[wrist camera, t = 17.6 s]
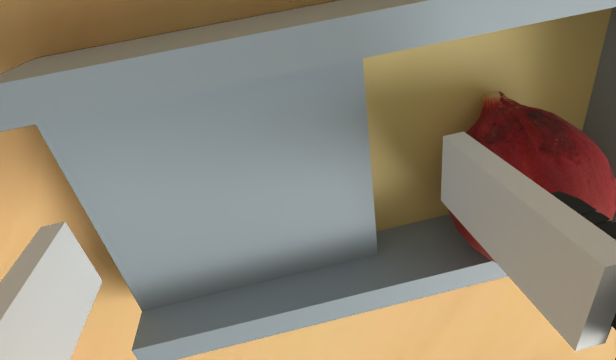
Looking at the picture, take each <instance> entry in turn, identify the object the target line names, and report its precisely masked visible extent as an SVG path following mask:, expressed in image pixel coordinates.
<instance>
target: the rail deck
mask: <svg viewBox="0 0 616 360" xmlns="http://www.w3.org/2000/svg"><path fill="white" fill-rule="evenodd" d="M608 8H612V11H611V15H610V19H609V23H608V27H607V32H606V36H605V40H604V44H603V48H602V52H601V56H600V60H599V64H598V68H597V72H596V77H595V81H594V85H593V89H592V93H591V97H590V101H589V105H588V109H587V113H586V117H585V122H584V126H583V130H582V132H584V133H585V134H586V135H587V136H588V137H589V138H590V139H591V140H593V141H594V142H595V143H596V144H597V146H598V147H599V148H600V150H601V151H602V152H603V154H604V155H605V156H606V157H607V159H608V162H609V164H610V167H611V169H612V172H613V174H614V177H615V179H616V0H338V1H333V2H328V3H322V4H317V5H312V6H307V7H301V8H296V9H291V10H286V11H280V12H275V13H270V14H265V15H259V16H254V17H249V18H244V19H238V20H233V21H228V22H223V23H218V24H212V25H207V26H202V27H197V28H191V29H186V30H181V31H176V32H170V33H165V34H160V35H155V36H149V37H144V38H139V39H134V40H128V41H123V42H118V43H113V44H107V45H102V46H97V47H92V48H86V49H81V50H76V51H71V52H66V53H60V54H55V55H50V56H45V57H39V58H35V59H33V60H31V61H28V62H26V63H24V64H22V65H20V66H17V67H15V68H13V69H11V70H8V71H6V72H4V73H2V74H0V132H2V131H7V130H12V129H16V128H21V127H26V126H31V125H36V126H37V128H38V130H39V132H40V133H41V135H42V137H43V139H44V140H45V142H46V144H47V146H48V147H49V149H50V151H51V153H52V154H53V156H54V158H55V160H56V161H57V163H58V165H59V166H60V168H61V170H62V172H63V173H64V175H65V177H66V179H67V180H68V182H69V184H70V186H71V187H72V189H73V191H74V193H75V194H76V196H77V198H78V200H79V201H80V203H81V205H82V207H83V208H84V210H85V212H86V214H87V215H88V217H89V219H90V221H91V222H92V224H93V226H94V228H95V229H96V231H97V233H98V235H99V236H100V238H101V240H102V242H103V243H104V245H105V247H106V249H107V250H108V252H109V254H110V256H111V257H112V259H113V261H114V263H115V264H116V266H117V268H118V270H119V271H120V273H121V275H122V277H123V278H124V280H125V282H126V284H127V285H128V287H129V289H130V291H131V292H132V294H133V296H134V298H135V299H136V301H137V303H138V305H139V306H140V308H141V310H142V314H141V318H140V322H139V325H138V329H137V333H136V336H135V340H134V344H133V348H132V352H133V353H134V355H135V356H136V358H137V359H138V360H177V359H181V358H185V357H189V356H193V355H197V354H201V353H205V352H209V351H213V350H217V349H220V348H224V347H228V346H232V345H236V344H240V343H244V342H248V341H252V340H256V339H260V338H264V337H268V336H272V335H276V334H280V333H284V332H288V331H292V330H296V329H300V328H304V327H308V326H312V325H316V324H320V323H324V322H328V321H332V320H336V319H340V318H344V317H348V316H352V315H356V314H360V313H364V312H368V311H372V310H376V309H380V308H384V307H388V306H392V305H396V304H400V303H404V302H408V301H411V300H415V299H419V298H423V297H427V296H431V295H435V294H439V293H443V292H447V291H451V290H455V289H459V288H463V287H467V286H471V285H475V284H479V283H483V282H487V281H491V280H495V279H499V278H503V277H507V276H508V275H507V274H506V273H505V272H504V271H503V270H502V268H501V267H500V266H499V265H498V264H497V263H495V262H494V261H492V260H490V259H489V258H487V257H486V256H484V255H483V254H481V253H480V252H478V251H477V250H475V249H474V248H473V247H472V246H471V245H470V244H469V243H468V242H467V241H466V239H465V238H464V237H463V236H462V235H461V234H460V233H459V232H458V230H457V228H456V226H455V224H454V222H453V220H452V217H451V215H450V214H448V215H444V216H440V217H436V218H432V219H427V220H423V221H419V222H415V223H410V224H406V225H402V226H398V227H393V228H389V229H385V230H381V231H377V232H376V224H375V211H374V198H373V185H372V172H371V159H370V146H369V133H368V121H367V108H366V95H365V82H364V69H363V58H367V57H372V56H376V55H381V54H386V53H391V52H396V51H401V50H406V49H411V48H416V47H421V46H426V45H431V44H436V43H441V42H446V41H450V40H455V39H460V38H465V37H470V36H475V35H480V34H485V33H490V32H495V31H500V30H505V29H510V28H515V27H520V26H524V25H529V24H534V23H539V22H544V21H549V20H554V19H559V18H564V17H569V16H574V15H579V14H584V13H589V12H593V11H598V10H603V9H608ZM612 222H616V211H615V213H614V216H613V219H612Z"/></svg>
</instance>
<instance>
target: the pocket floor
mask: <svg viewBox="0 0 616 360" xmlns="http://www.w3.org/2000/svg"><path fill="white" fill-rule="evenodd" d="M611 11H612V8H608V9H603V10H598V11H593V12H589V13H584V14H579V15H574V16H569V17H564V18H559V19H554V20H549V21H544V22H539V23H534V24H529V25H524V26H520V27H515V28H510V29H505V30H500V31H495V32H490V33H485V34H480V35H475V36H470V37H465V38H460V39H455V40H450V41H446V42H441V43H436V44H431V45H426V46H421V47H416V48H411V49H406V50H401V51H396V52H391V53H386V54H381V55H376V56H372V57H367V58H363V69H364V82H365V95H366V108H367V121H368V133H369V146H370V159H371V172H372V185H373V198H374V211H375V224H376V232H377V231H381V230H385V229H389V228H393V227H398V226H402V225H406V224H410V223H415V222H419V221H423V220H427V219H432V218H436V217H440V216H444V215H448V214H450V213H449V211H448V208H447V207H446V206H445V205H444V203H443V202H442V201H441V179H442V151H443V136H446V135H451V134H455V133H459V132H465V133H467V131H468V130H469V129H470V128H471V127H472V126H473V125H474V124H475V123H476V121H477V120H478V118H479V117H480V114H481V111H482V107H483V104H482V100H481V98H482V97H483V96H484V95H486V94H487V93H488V92H493V91H500V92H502V93H503V94H505V95H506V96H507V97H508V98H509V99H511V100H514V101H516V102H518V103H519V104H521V105H525V106H528V107H533V108H538V109H542V110H545V111H548V112H551V113H554V114H556V115H557V116H559V117H561V118H562V119H564V120H566V121H567V122H569V123H571V124H572V125H574V126H575V127H576V128H578V129H579V130H581V131H582V130H583V126H584V122H585V117H586V113H587V109H588V105H589V101H590V97H591V93H592V89H593V85H594V81H595V77H596V72H597V68H598V64H599V60H600V56H601V52H602V48H603V44H604V40H605V36H606V32H607V27H608V23H609V19H610V15H611Z"/></svg>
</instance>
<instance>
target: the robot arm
mask: <svg viewBox="0 0 616 360" xmlns="http://www.w3.org/2000/svg"><path fill="white" fill-rule="evenodd" d="M441 201H442V202H443V203H444V205H445V206H446V207H447V208H448V209H449V210H450V211H451V212H452V213H453V215H454V216H455V217H456V218H457V219H458V220H459V221H460V222H461V224H462V225H463V226H464V227H465V228H466V229H467V230H468V231H469V233H470V234H471V235H472V236H473V237H474V238H475V239H476V240H477V242H478V243H479V244H480V245H481V246H482V247H483V248H484V249H485V250H486V252H487V253H488V254H489V255H490V256H491V257H492V258H493V259H494V261H495V262H496V263H497V264H498V265H499V266H500V267H501V268H502V270H503V271H504V272H505V273H506V274H507V275H508V276H509V277H510V279H511V280H512V281H513V282H514V283H515V284H516V285H517V286H518V287H519V289H520V290H521V291H522V292H523V293H524V294H525V295H526V296H527V298H528V299H529V300H530V301H531V302H532V303H533V304H534V305H535V307H536V308H537V309H538V310H539V311H540V312H541V313H542V314H543V316H544V317H545V318H546V319H547V320H548V321H549V322H550V323H551V325H552V326H553V327H554V328H555V329H556V330H557V331H558V332H559V333H560V335H561V336H562V337H563V338H564V339H565V340H566V341H567V342H568V344H569V345H570V346H571V347H572V348H573V349H574V350H575V351H578V350H582V349H585V348H589V347H592V346H596V345H600V344H603V343H605V342H606V339H607V337H608V335H609V332H610V330H611V327H612V326H613V327H614V328H615V329H616V222H612V221H611V219H610V218H608V217H607V216H605V215H604V214H602V213H601V212H600V213H598V212H597V210H596V209H595V208H593V207H592V206H590V205H589V204H587V203H586V202H584V201H583V200H581V199H579V198H577V197H574V196H571V195H569V194H566V193H563V192H561V191H557V192H553V193H549V192H548V191H546V190H545V189H543V188H542V187H541V186H539V185H538V184H536V183H535V182H534V181H532V180H531V179H529V178H528V177H527V176H525V175H524V174H522V173H521V172H520V171H518V170H517V169H515V168H514V167H513V166H511V165H510V164H508V163H507V162H506V161H504V160H503V159H501V158H500V157H499V156H497V155H496V154H494V153H493V152H492V151H490V150H489V149H487V148H486V147H485V146H483V145H482V144H480V143H479V142H478V141H476V140H475V139H473V138H472V137H471V136H469V135H468V134H466V133H465V132H459V133H455V134H451V135H446V136H443V151H442V179H441ZM101 283H102V279H101V278H100V276H99V275H98V273H97V271H96V270H95V268H94V267H93V265H92V263H91V262H90V260H89V259H88V257H87V256H86V254H85V252H84V251H83V249H82V248H81V246H80V244H79V243H78V241H77V240H76V238H75V236H74V235H73V233H72V232H71V230H70V228H69V227H68V225H67V224H66V222H61V223H57V224H52V225H48V226H43V227H41V228H40V229H39V231H38V232H37V233H36V235H35V236H34V237H33V239H32V240H31V242H30V243H29V244H28V246H27V247H26V248H25V250H24V251H23V252H22V254H21V255H20V257H19V258H18V259H17V261H16V262H15V263H14V265H13V266H12V267H11V269H10V270H9V272H8V273H7V274H6V276H5V277H4V278H3V280H2V281H1V282H0V360H70V358H71V356H72V354H73V351H74V349H75V346H76V344H77V341H78V339H79V337H80V334H81V332H82V329H83V327H84V324H85V322H86V320H87V317H88V315H89V312H90V310H91V308H92V305H93V303H94V300H95V298H96V295H97V293H98V291H99V288H100V286H101ZM615 360H616V359H615Z"/></svg>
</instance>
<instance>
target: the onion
mask: <svg viewBox="0 0 616 360" xmlns="http://www.w3.org/2000/svg"><path fill="white" fill-rule="evenodd" d="M481 100H482V104H483V107H482V111H481V114H480V117H479V118H478V120H477V121H476V123H475V124H474V125H473V126H472V127H471V128H470V129H469V130H468V131H467V133H466V134H468V135H469V136H471V137H472V138H473V139H475V140H476V141H478V142H479V143H480V144H482V145H483V146H485V147H486V148H487V149H489V150H490V151H492V152H493V153H494V154H496V155H497V156H499V157H500V158H501V159H503V160H504V161H506V162H507V163H508V164H510V165H511V166H513V167H514V168H515V169H517V170H518V171H520V172H521V173H522V174H524V175H525V176H527V177H528V178H529V179H531V180H532V181H534V182H535V183H536V184H538V185H539V186H541V187H542V188H543V189H545V190H546V191H548V192H549V193H553V192H557V191H561V192H563V193H566V194H569V195H571V196H574V197H577V198H579V199H581V200H583V201H584V202H586V203H587V204H589V205H590V206H592V207H593V208H595V209H596V210H597V212H598V213H600V212H601V213H602V214H604V215H605V216H607V217H608V218H610V219H611V221H612V219H613V216H614V213H615V211H616V179H615V177H614V174H613V172H612V169H611V167H610V164H609V162H608V159H607V157H606V156H605V155H604V154H603V152H602V151H601V150H600V148H599V147H598V146H597V144H596V143H595V142H594V141H593V140H591V139H590V138H589V137H588V136H587V135H586V134H585V133H584V132H582V131H581V130H579V129H578V128H576V127H575V126H574V125H572V124H571V123H569V122H567V121H566V120H564V119H562V118H561V117H559V116H557V115H556V114H554V113H551V112H548V111H545V110H542V109H538V108H533V107H528V106H525V105H521V104H519V103H518V102H516V101H514V100H511V99H509V98H508V97H507V96H506V95H505V94H503V93H502V92H500V91H493V92H488V93H487V94H486V95H484V96H483V97H482V98H481ZM448 211H449V213H450V215H451V217H452V220H453V222H454V224H455V226H456V228H457V230H458V232H459V233H460V234H461V235H462V236H463V237H464V238H465V239H466V241H467V242H468V243H469V244H470V245H471V246H472V247H473V248H474V249H475V250H477V251H478V252H480V253H481V254H483V255H484V256H486V257H487V258H489V259H490V260H492V261H494V259H493V258H492V257H491V256H490V255H489V254H488V253H487V252H486V250H485V249H484V248H483V247H482V246H481V245H480V244H479V243H478V242H477V240H476V239H475V238H474V237H473V236H472V235H471V234H470V233H469V231H468V230H467V229H466V228H465V227H464V226H463V225H462V224H461V222H460V221H459V220H458V219H457V218H456V217H455V216H454V215H453V213H452V212H451V211H450V210H449V209H448ZM494 262H495V261H494ZM495 263H496V262H495Z"/></svg>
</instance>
